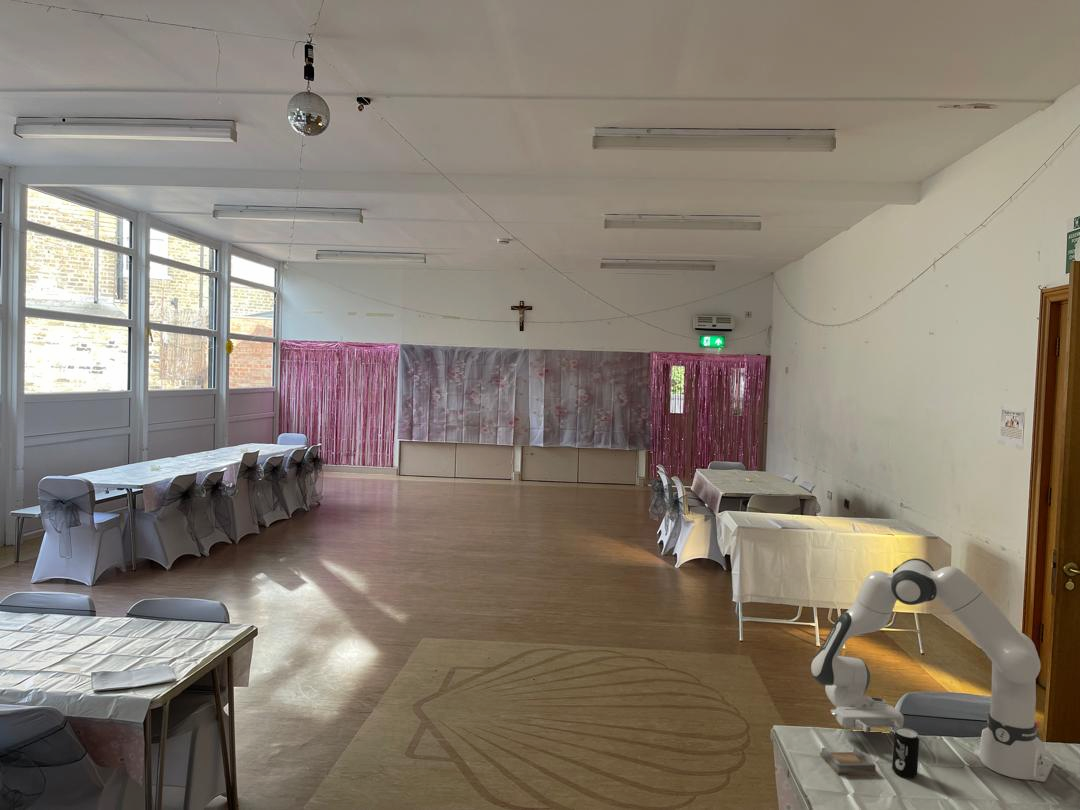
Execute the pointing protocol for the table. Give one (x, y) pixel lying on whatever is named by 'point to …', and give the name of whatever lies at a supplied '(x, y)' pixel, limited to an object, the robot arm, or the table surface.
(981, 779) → the table surface
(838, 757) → the brown flat square tray
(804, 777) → the table surface
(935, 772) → the table surface
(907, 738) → the beverage can
